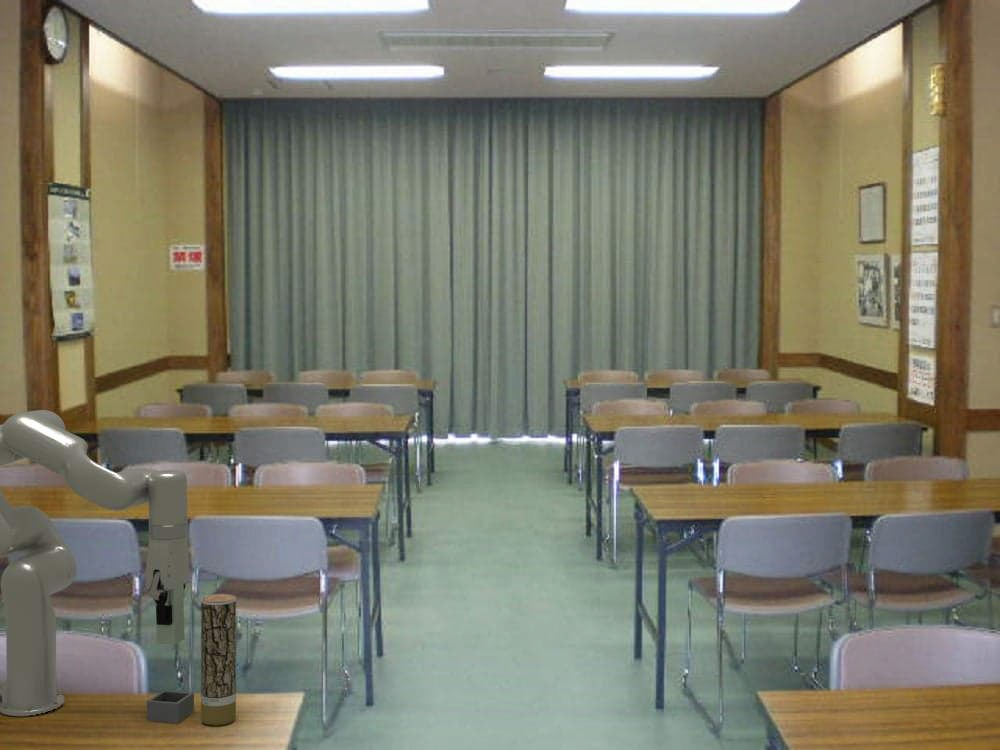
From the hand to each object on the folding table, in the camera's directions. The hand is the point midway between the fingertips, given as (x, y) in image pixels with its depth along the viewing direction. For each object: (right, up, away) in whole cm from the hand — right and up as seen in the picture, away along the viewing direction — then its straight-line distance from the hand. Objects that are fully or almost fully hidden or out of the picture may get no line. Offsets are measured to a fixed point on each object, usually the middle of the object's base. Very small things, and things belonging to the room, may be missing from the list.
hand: (170, 620), depth 224 cm
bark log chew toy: (+10, -20, -1) cm, 23 cm away
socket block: (0, -20, +1) cm, 20 cm away
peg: (0, -4, 0) cm, 4 cm away
